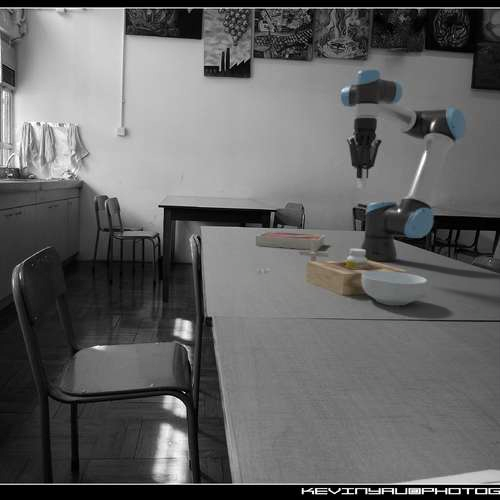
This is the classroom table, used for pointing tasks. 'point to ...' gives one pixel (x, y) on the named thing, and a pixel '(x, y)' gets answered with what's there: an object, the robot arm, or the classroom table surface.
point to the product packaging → (289, 240)
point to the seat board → (342, 275)
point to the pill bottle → (357, 259)
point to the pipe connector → (314, 252)
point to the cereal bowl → (393, 287)
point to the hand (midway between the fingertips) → (361, 188)
